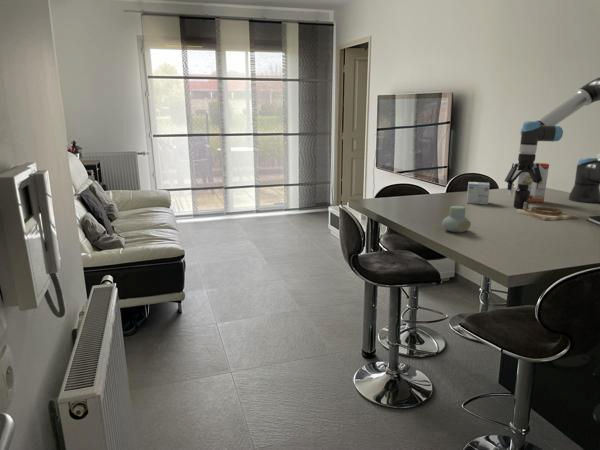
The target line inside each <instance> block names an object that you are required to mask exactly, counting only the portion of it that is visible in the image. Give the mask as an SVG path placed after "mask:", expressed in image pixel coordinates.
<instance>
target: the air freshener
mask: <svg viewBox="0 0 600 450" xmlns="http://www.w3.org/2000/svg"><path fill="white" fill-rule="evenodd" d="M441 225H442V227H443V228H444V229H445V230H447V231H448V232H452V233H464V232H466V231H468V230H469V229H470V227H471V221H470V220H469V219H468V218H467V217H466V207H465V206H463V205H451V206H450V207H449V215H447V216H446V217H445V218H444V219H443V220H442V224H441Z"/></svg>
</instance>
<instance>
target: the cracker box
mask: <svg viewBox="0 0 600 450" xmlns="http://www.w3.org/2000/svg"><path fill="white" fill-rule="evenodd" d="M534 163H536V162H535V161H534ZM538 163H539V170H540V173H541V177H542V181H540V183H538V187H537V189H536V195H535V196H533V195H530V197H529V203H540V204H542V203H543V204H544V202H545V194H546V190H547V189H546V188H547V181H548V176H549V169H550V164H549V163H548V162H538ZM533 170H534V168H533ZM534 173H535V172H534ZM532 182H534V181H533V180H532V178H531V176H530V174H529V173H528V172H522V173H521V174H520V175H519V176H518V177H517V178H516V180H515V190H514V192H515V191H516V189H518V184H528V185H529V188H528V190H529V191H530V193H531V186H532ZM514 197H515V195H514ZM514 197H513V198H514Z"/></svg>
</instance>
